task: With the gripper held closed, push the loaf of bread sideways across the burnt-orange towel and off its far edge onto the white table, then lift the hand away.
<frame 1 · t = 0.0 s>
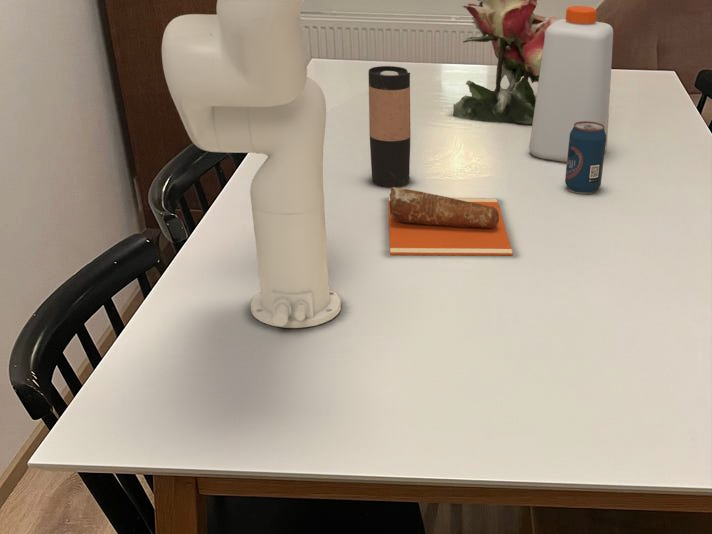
plastic bottle: (567, 154, 198), on the table
rose bouquet: (516, 110, 225), on the table
bread: (444, 224, 161), resting on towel
travel mug: (390, 182, 178), on the table
soda can: (582, 190, 180), on the table
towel: (446, 225, 161), on the table
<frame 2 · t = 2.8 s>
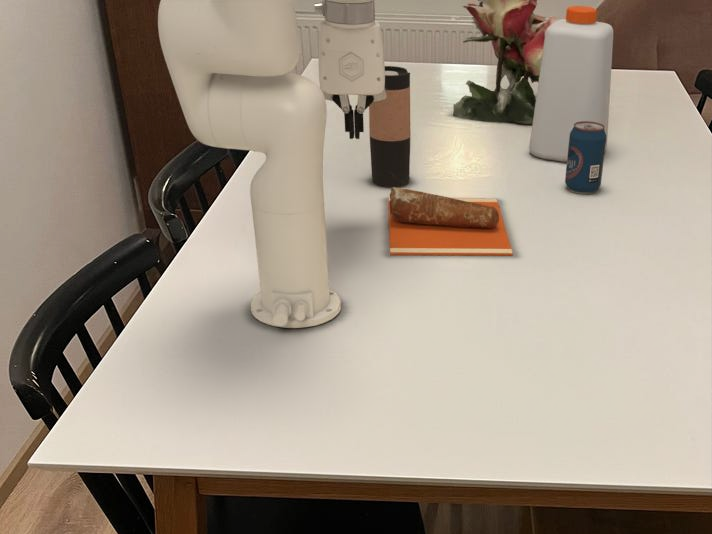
hand: (354, 136, 151), 15 cm above the table, tool pointing down, fingers closed
nothing on the table moved.
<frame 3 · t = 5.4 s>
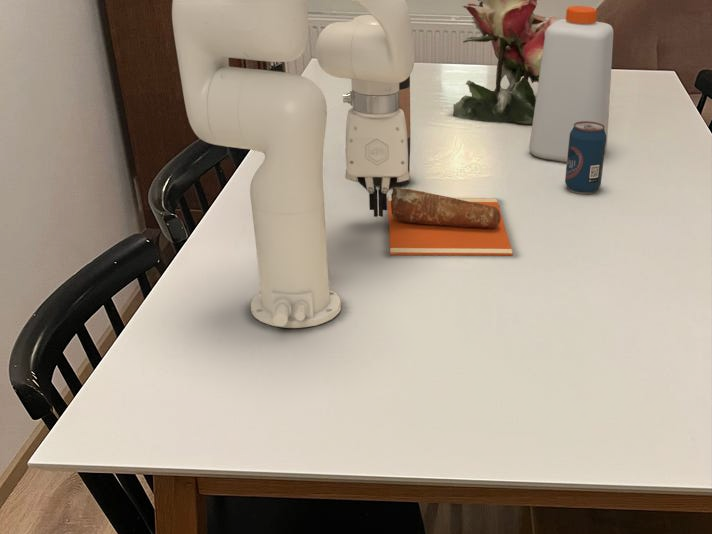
hand: (378, 213, 159), 2 cm above the table, tool pointing down, fingers closed
bread: (445, 224, 161), resting on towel, touching gripper
everything else where it was.
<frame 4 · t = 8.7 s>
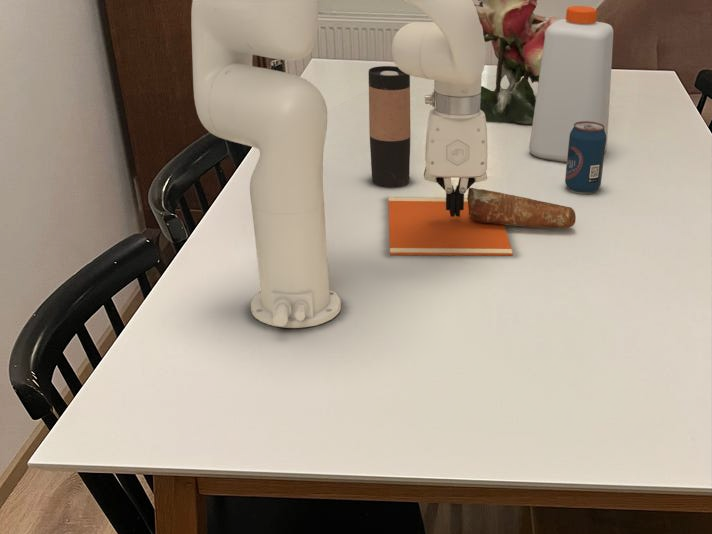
hand: (454, 213, 160), 2 cm above the table, tool pointing down, fingers closed
bread: (520, 224, 162), on the table, touching gripper, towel
everything else where it was.
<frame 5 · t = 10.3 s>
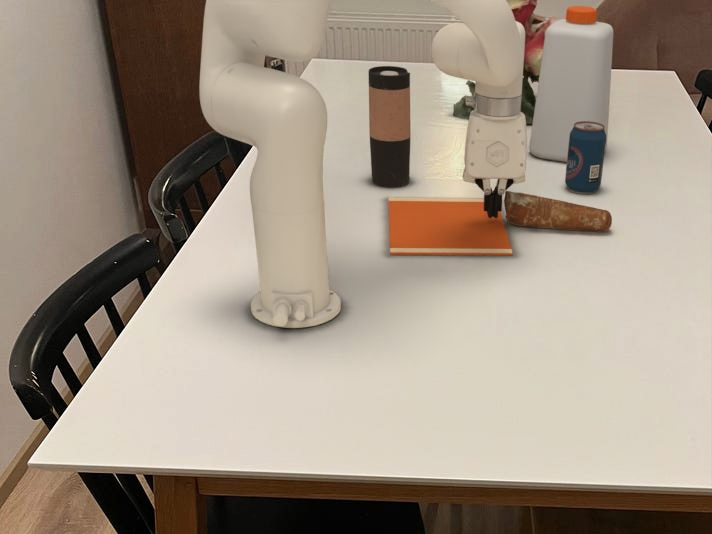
hand: (492, 214, 161), 2 cm above the table, tool pointing down, fingers closed
bread: (556, 227, 163), on the table, touching gripper
everything else where it was.
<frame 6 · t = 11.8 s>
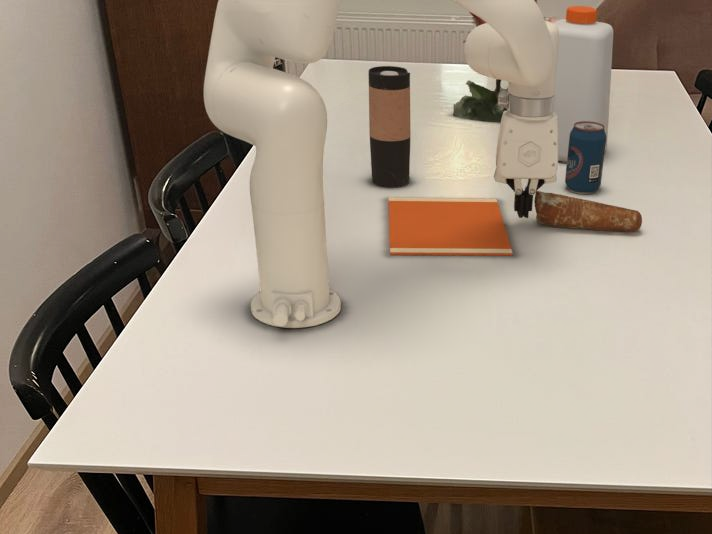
hand: (522, 214, 161), 2 cm above the table, tool pointing down, fingers closed
bread: (586, 227, 163), on the table, touching gripper
everything else where it was.
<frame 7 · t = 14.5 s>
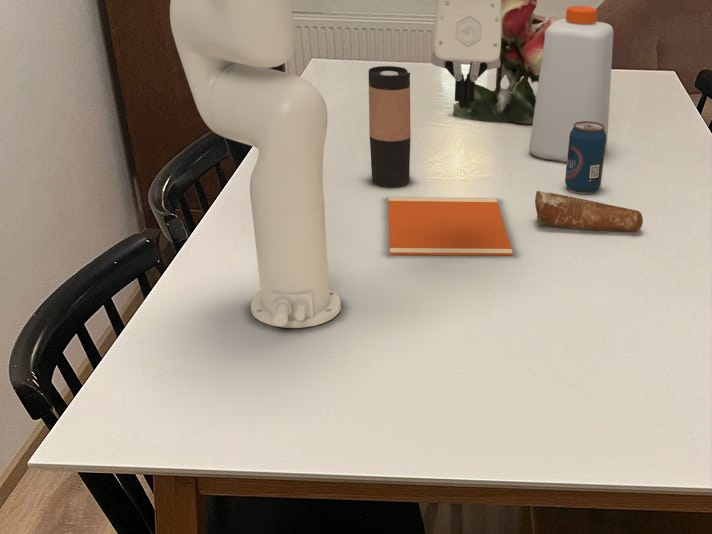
hand: (464, 106, 147), 21 cm above the table, tool pointing down, fingers closed
bread: (586, 227, 163), on the table
everything else where it was.
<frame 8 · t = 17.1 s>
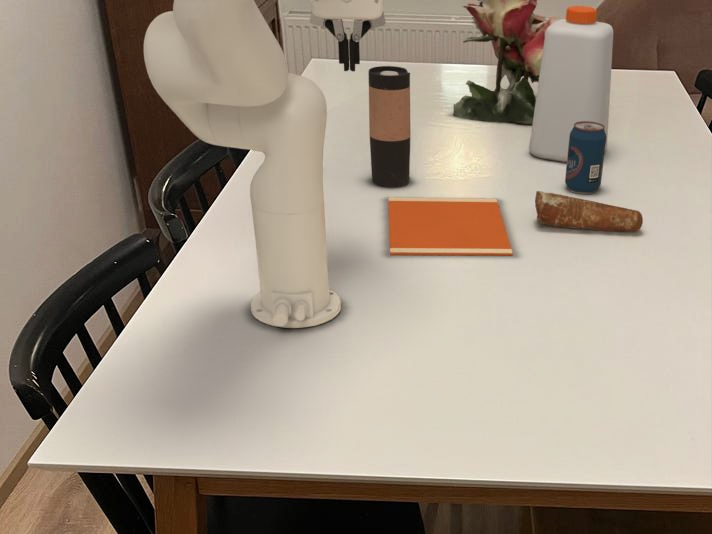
hand: (349, 69, 136), 27 cm above the table, tool pointing down, fingers closed
nothing on the table moved.
at the end: bread touching table; bread inside the target area (0.1 cm from its centre), on the table; bread tilted 0° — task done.
